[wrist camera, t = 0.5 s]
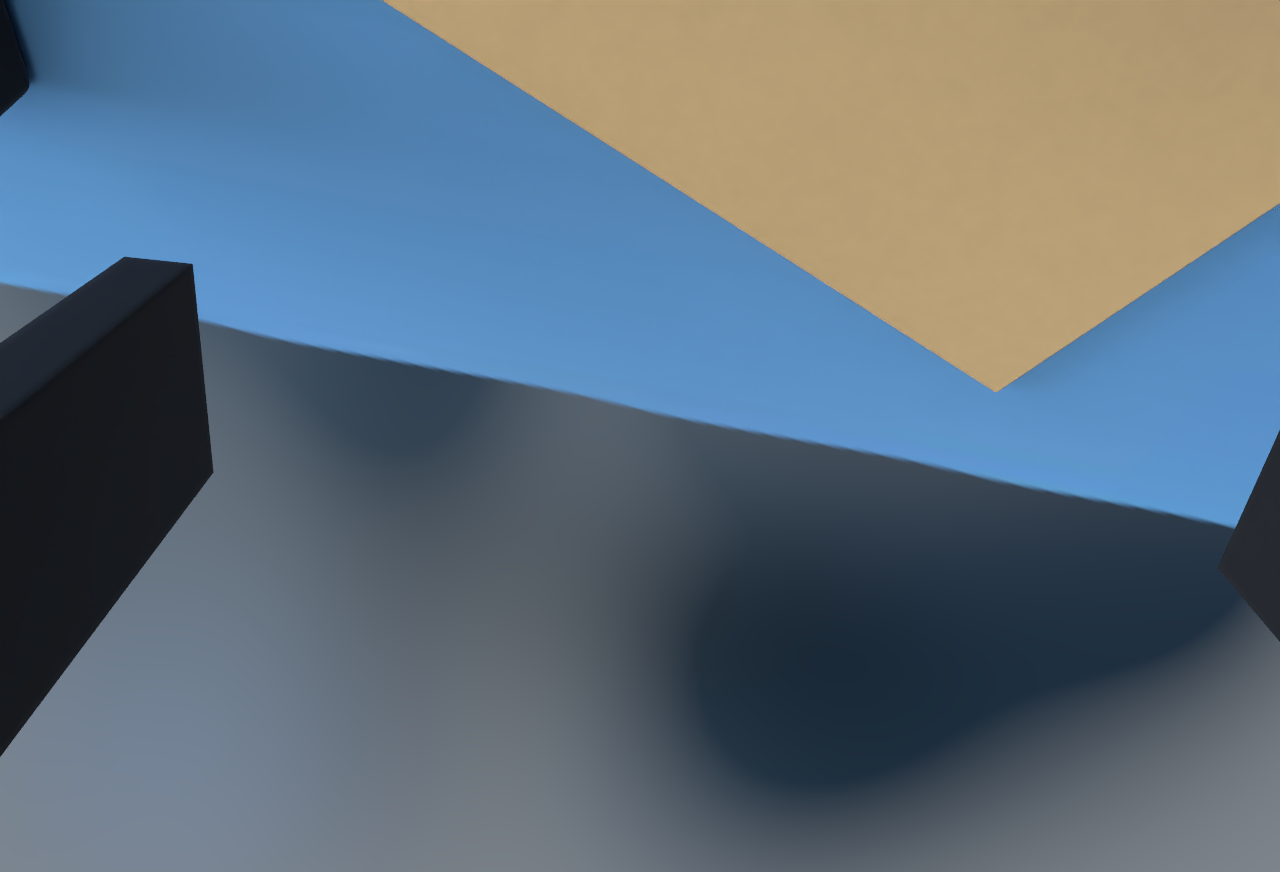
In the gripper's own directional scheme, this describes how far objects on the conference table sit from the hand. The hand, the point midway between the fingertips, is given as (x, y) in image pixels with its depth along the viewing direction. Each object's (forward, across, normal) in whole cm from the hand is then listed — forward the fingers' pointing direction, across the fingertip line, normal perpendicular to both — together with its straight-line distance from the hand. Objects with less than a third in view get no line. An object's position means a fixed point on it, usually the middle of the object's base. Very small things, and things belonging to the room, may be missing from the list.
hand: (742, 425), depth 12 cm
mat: (+14, +4, +3) cm, 15 cm away
